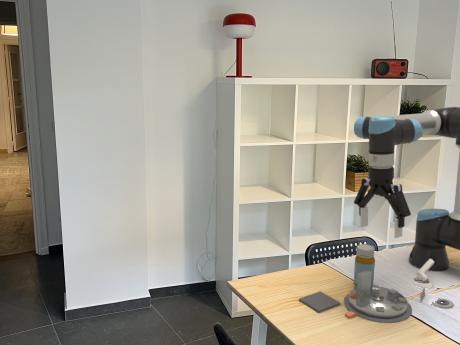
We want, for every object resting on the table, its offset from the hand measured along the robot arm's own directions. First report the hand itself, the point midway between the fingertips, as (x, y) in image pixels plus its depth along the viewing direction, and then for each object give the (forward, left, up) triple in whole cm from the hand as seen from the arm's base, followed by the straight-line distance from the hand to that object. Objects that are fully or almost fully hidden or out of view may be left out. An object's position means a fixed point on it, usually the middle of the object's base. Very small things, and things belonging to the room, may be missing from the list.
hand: (380, 231), depth 143 cm
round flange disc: (-3, -1, -27) cm, 27 cm away
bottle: (-11, -14, -28) cm, 33 cm away
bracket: (-22, +8, -28) cm, 36 cm away
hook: (-30, -3, -28) cm, 41 cm away
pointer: (+10, -1, -27) cm, 29 cm away
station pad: (+12, -13, -27) cm, 33 cm away
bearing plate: (-3, -1, -27) cm, 27 cm away
